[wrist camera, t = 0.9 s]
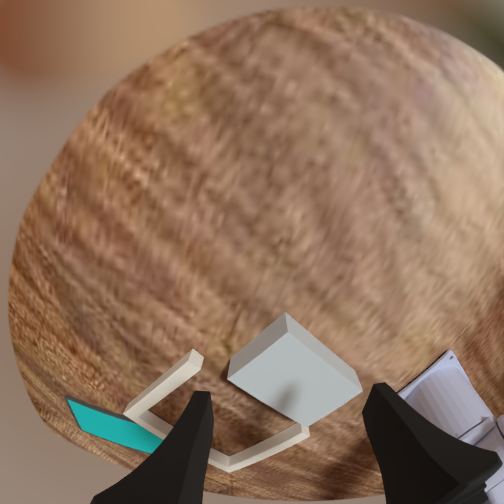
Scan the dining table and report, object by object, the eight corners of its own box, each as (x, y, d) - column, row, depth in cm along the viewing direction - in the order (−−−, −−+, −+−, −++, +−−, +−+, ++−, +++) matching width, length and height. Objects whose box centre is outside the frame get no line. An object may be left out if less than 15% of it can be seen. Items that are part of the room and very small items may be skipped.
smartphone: (63, 396, 24) (176, 432, 24) (66, 392, 25) (178, 427, 25) (80, 430, 27) (181, 461, 27) (82, 426, 27) (182, 456, 27)
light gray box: (354, 368, 22) (362, 391, 19) (303, 403, 23) (306, 427, 20) (284, 309, 20) (287, 331, 17) (231, 354, 22) (227, 379, 19)
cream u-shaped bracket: (308, 424, 24) (309, 436, 22) (230, 462, 26) (229, 472, 25) (192, 348, 21) (188, 360, 20) (128, 403, 24) (123, 413, 22)
